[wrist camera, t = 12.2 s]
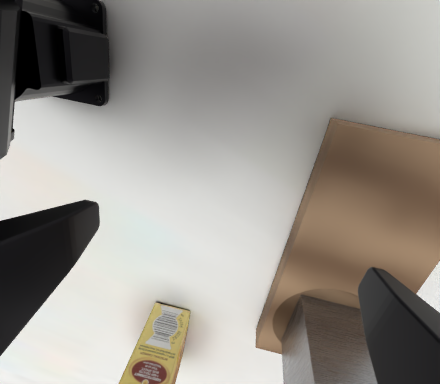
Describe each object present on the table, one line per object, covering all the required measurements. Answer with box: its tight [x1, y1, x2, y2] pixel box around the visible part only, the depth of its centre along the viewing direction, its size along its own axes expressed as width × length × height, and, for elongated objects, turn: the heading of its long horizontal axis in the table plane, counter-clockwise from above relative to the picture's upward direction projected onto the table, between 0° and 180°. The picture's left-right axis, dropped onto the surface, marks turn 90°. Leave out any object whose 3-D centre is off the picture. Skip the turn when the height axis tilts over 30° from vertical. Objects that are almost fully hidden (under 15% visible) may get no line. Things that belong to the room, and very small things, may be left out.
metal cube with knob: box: [281, 294, 377, 384], centre depth 19 cm, size 6×6×8 cm
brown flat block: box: [256, 118, 440, 354], centre depth 20 cm, size 22×10×5 cm, turn 170°
